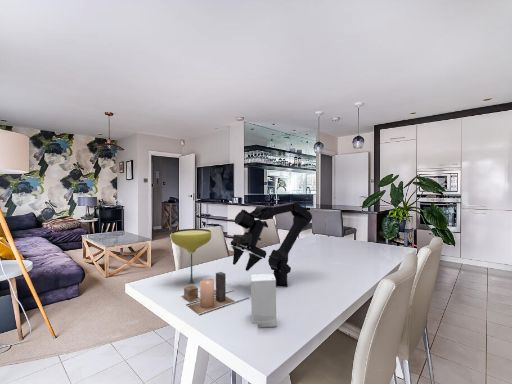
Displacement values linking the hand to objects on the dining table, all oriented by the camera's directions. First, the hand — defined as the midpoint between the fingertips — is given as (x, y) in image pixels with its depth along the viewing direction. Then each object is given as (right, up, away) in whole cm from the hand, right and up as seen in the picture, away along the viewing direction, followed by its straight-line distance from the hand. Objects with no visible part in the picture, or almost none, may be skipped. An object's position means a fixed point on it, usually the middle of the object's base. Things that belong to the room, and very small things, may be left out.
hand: (239, 267), depth 111 cm
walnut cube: (-19, -10, -6) cm, 22 cm away
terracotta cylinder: (-11, -10, -13) cm, 20 cm away
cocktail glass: (-23, -12, +11) cm, 28 cm away
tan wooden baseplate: (-10, -11, -11) cm, 19 cm away
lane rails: (-7, -12, -9) cm, 16 cm away
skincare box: (+9, -12, -23) cm, 28 cm away
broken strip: (-16, -12, -3) cm, 20 cm away
